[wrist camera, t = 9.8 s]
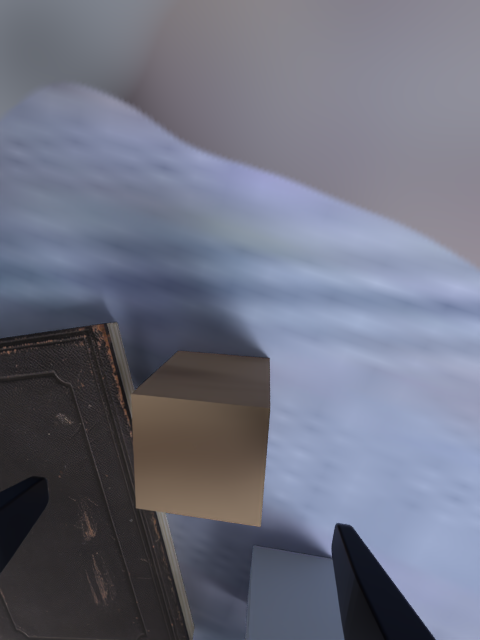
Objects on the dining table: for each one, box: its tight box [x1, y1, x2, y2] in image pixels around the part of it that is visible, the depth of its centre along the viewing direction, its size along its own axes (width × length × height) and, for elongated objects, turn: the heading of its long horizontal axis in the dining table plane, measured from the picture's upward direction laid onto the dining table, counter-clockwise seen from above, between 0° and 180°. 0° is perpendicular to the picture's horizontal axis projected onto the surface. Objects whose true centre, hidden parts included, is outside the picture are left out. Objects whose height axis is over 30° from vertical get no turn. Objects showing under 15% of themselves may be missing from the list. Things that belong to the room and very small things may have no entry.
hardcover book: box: [0, 322, 194, 640], centre depth 16 cm, size 16×23×2 cm
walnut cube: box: [131, 351, 270, 527], centre depth 12 cm, size 5×5×5 cm
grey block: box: [245, 545, 345, 640], centre depth 14 cm, size 5×5×5 cm
